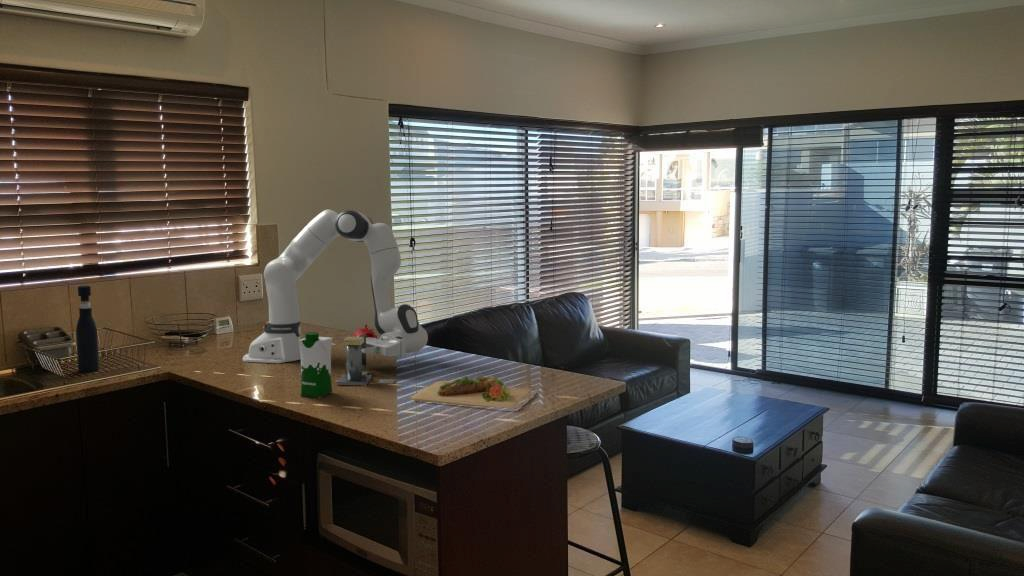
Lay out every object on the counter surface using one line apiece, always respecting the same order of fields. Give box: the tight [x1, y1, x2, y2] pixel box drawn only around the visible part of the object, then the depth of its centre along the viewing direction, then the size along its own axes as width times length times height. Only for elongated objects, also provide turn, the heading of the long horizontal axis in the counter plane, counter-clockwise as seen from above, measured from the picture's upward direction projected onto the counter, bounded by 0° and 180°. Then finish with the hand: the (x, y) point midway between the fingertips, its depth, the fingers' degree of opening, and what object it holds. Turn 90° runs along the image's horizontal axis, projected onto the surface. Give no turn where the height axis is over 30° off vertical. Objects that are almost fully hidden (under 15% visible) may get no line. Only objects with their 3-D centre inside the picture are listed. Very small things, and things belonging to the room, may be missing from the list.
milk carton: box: [299, 331, 333, 398], centre depth 236 cm, size 9×9×20 cm
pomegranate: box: [353, 324, 378, 339], centre depth 313 cm, size 10×10×9 cm
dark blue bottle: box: [75, 285, 100, 373], centre depth 263 cm, size 6×6×30 cm
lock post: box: [336, 345, 396, 386], centre depth 257 cm, size 18×18×13 cm
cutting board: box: [410, 375, 532, 408], centre depth 237 cm, size 35×23×8 cm
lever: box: [343, 335, 367, 372], centre depth 258 cm, size 16×6×13 cm, turn 178°
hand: (358, 349), depth 263 cm, fingers closed on lever, 3 cm apart
